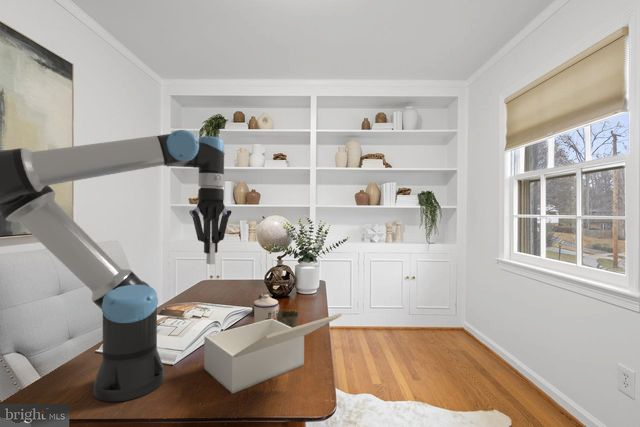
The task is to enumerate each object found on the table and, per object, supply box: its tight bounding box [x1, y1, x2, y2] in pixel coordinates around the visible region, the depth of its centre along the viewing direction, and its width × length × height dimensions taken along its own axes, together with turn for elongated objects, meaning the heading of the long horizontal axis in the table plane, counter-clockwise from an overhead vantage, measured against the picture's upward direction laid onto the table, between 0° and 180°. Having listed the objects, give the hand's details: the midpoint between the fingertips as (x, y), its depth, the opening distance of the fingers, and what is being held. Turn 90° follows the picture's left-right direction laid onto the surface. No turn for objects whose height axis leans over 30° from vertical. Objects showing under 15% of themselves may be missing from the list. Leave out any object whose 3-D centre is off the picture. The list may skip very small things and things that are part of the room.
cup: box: [276, 309, 299, 328], centre depth 114 cm, size 8×7×8 cm
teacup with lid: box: [253, 293, 280, 323], centre depth 125 cm, size 12×9×12 cm
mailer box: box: [203, 319, 305, 394], centre depth 92 cm, size 22×16×9 cm
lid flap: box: [233, 313, 343, 358], centre depth 80 cm, size 22×16×1 cm
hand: (210, 263), depth 104 cm, fingers closed
